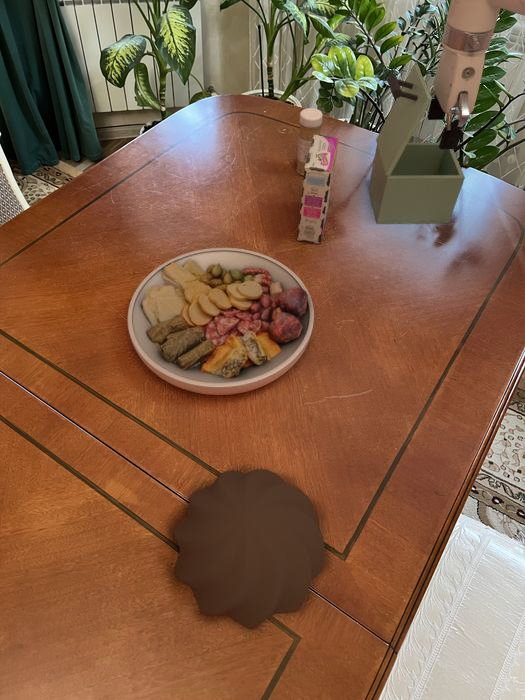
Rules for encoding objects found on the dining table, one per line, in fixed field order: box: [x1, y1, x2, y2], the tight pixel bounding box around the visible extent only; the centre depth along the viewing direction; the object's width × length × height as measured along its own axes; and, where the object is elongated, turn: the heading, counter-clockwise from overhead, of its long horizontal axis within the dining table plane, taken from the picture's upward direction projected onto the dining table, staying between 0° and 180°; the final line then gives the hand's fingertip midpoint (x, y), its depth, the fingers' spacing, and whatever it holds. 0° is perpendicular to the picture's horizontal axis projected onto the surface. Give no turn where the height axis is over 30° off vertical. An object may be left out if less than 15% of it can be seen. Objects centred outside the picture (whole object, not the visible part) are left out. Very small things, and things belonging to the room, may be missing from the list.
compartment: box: [367, 142, 466, 225], centre depth 114 cm, size 15×12×11 cm
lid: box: [375, 63, 433, 176], centre depth 102 cm, size 15×12×5 cm
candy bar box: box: [296, 134, 340, 245], centre depth 107 cm, size 11×5×16 cm, turn 168°
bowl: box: [127, 247, 315, 396], centre depth 93 cm, size 30×30×8 cm
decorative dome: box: [172, 468, 326, 630], centre depth 70 cm, size 19×20×10 cm
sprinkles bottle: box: [296, 107, 324, 177], centre depth 119 cm, size 5×5×13 cm
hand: (441, 133), depth 105 cm, fingers open, 9 cm apart
